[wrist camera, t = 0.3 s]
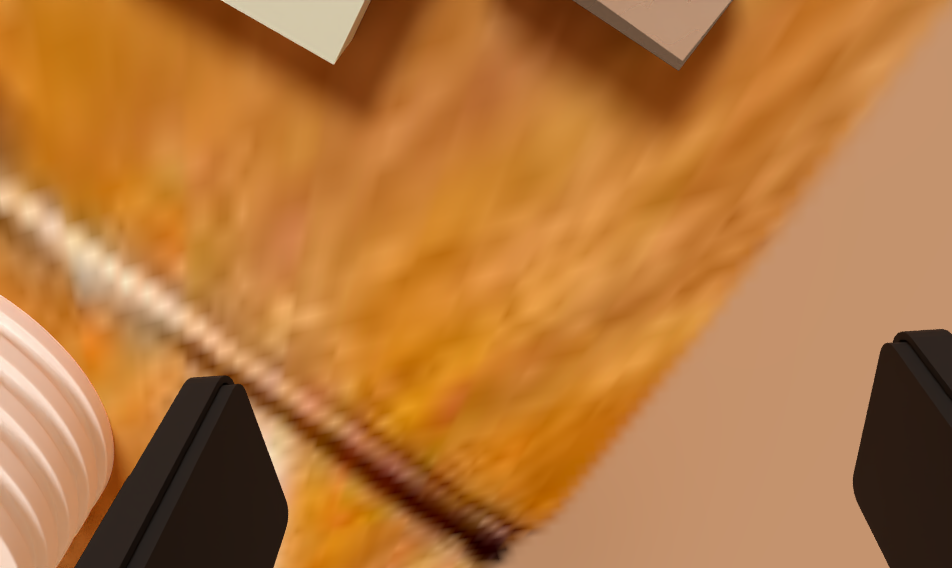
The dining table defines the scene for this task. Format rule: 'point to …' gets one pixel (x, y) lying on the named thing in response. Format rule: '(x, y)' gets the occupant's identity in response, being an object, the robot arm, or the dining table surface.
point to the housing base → (638, 31)
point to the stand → (309, 21)
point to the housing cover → (670, 20)
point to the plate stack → (46, 444)
